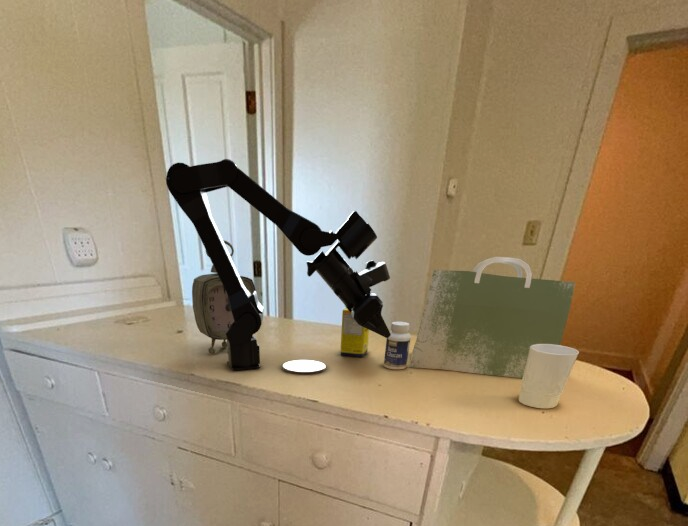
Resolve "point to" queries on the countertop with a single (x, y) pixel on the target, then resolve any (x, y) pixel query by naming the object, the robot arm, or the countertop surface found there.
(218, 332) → the tabletop clock
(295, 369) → the white disc
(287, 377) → the countertop surface
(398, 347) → the pill bottle
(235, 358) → the robot arm
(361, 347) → the supplement box
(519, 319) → the grocery bag
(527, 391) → the white cup
